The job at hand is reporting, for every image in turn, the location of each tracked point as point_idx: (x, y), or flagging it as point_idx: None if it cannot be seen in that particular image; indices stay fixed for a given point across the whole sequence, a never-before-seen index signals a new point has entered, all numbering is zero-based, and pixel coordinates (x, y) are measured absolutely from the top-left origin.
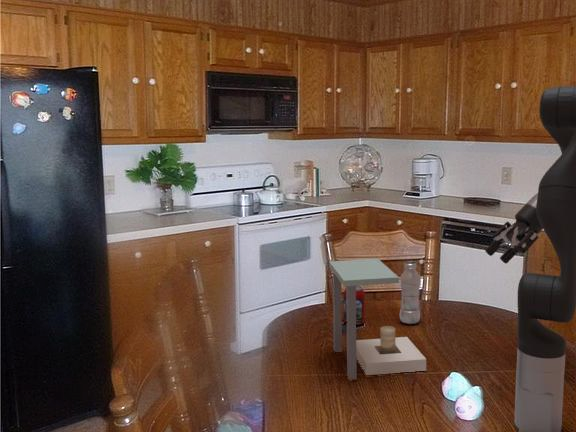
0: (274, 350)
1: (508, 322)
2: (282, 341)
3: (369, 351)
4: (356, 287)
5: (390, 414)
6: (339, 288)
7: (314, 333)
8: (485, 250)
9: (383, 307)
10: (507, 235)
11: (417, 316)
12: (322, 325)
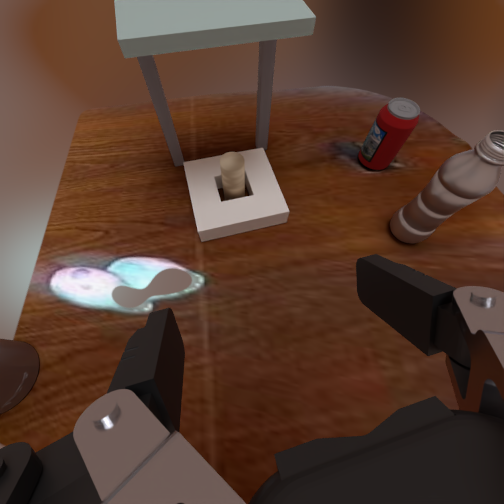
0: None
1: None
2: (285, 98)
3: None
4: (410, 111)
5: (84, 197)
6: (262, 46)
7: (319, 123)
8: (372, 255)
9: None
10: (448, 422)
11: (403, 234)
12: (351, 128)
